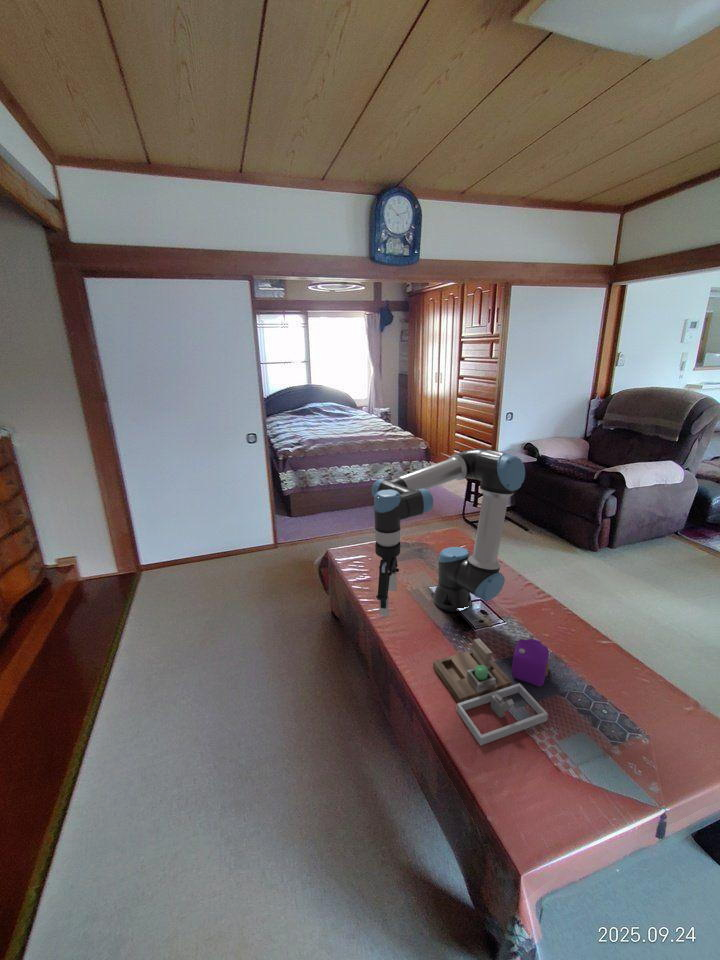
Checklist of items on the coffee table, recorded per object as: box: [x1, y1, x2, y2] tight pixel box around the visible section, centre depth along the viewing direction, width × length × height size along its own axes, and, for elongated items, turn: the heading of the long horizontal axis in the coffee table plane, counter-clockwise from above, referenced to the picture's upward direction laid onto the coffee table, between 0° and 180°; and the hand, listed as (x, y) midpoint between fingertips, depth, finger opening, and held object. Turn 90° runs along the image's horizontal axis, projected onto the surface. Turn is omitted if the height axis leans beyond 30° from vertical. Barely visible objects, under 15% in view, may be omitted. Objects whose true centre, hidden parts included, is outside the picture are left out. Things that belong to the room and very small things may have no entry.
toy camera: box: [511, 638, 550, 687], centre depth 129 cm, size 11×14×10 cm
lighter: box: [490, 694, 515, 719], centre depth 114 cm, size 7×2×8 cm, turn 23°
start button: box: [475, 665, 488, 682], centre depth 122 cm, size 4×4×4 cm
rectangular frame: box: [456, 683, 549, 747], centre depth 114 cm, size 22×12×2 cm, turn 109°
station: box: [432, 638, 513, 704], centre depth 127 cm, size 18×16×8 cm
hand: (388, 602), depth 128 cm, fingers open, 13 cm apart
